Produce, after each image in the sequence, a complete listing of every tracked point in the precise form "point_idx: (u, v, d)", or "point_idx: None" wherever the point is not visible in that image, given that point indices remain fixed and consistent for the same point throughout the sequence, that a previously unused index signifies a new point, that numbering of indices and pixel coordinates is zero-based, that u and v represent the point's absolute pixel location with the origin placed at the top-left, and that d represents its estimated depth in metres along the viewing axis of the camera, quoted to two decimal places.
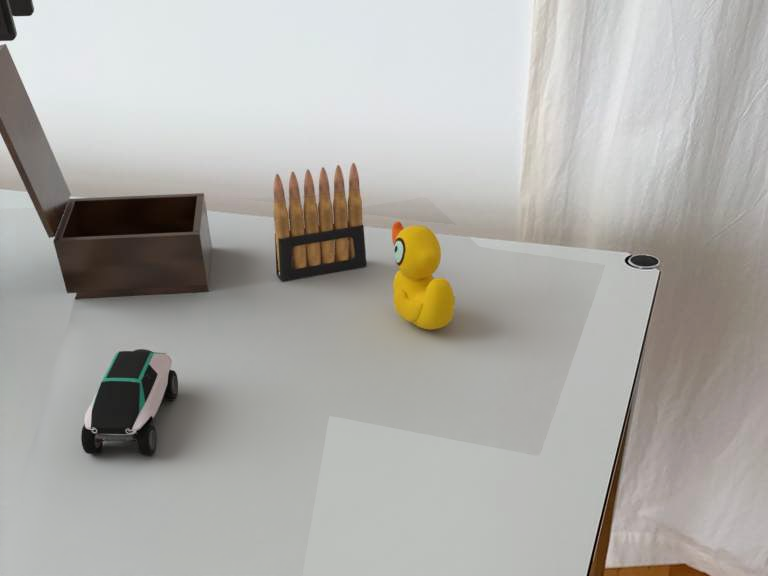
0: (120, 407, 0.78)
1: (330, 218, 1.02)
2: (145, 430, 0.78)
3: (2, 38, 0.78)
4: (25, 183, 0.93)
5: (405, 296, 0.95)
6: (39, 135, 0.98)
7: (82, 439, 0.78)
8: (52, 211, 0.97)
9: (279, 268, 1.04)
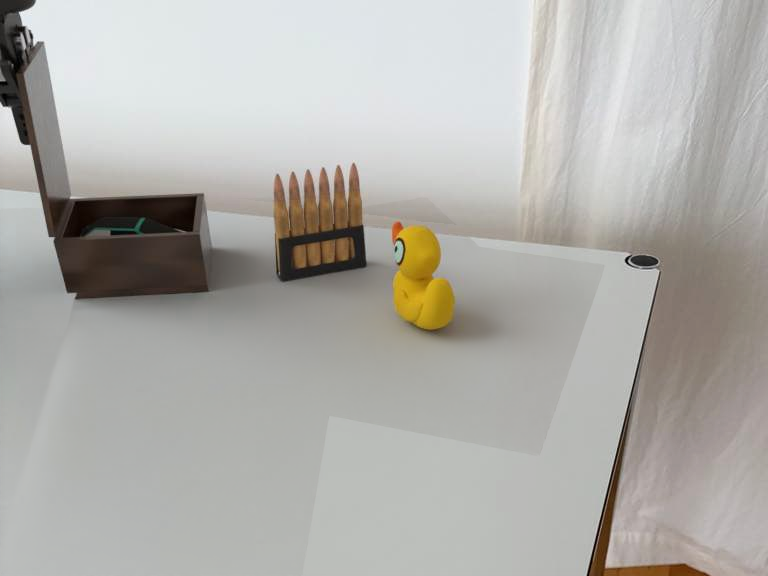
0: (166, 231, 1.03)
1: (330, 218, 1.02)
2: None
3: None
4: (39, 181, 0.93)
5: (405, 296, 0.95)
6: (56, 134, 0.98)
7: None
8: (56, 211, 0.97)
9: (279, 268, 1.04)
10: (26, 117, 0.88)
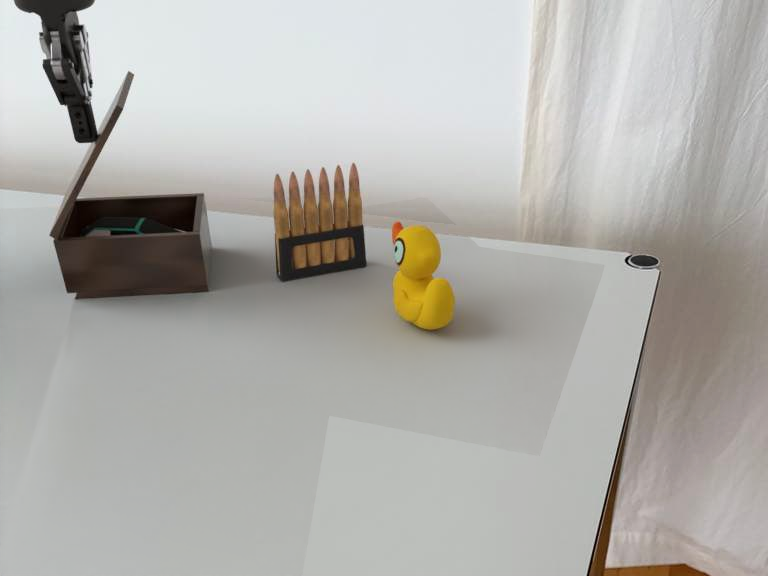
0: (166, 231, 1.03)
1: (330, 218, 1.02)
2: None
3: (85, 141, 0.95)
4: (74, 191, 0.94)
5: (405, 296, 0.95)
6: None
7: None
8: None
9: (279, 268, 1.04)
10: (100, 139, 0.91)
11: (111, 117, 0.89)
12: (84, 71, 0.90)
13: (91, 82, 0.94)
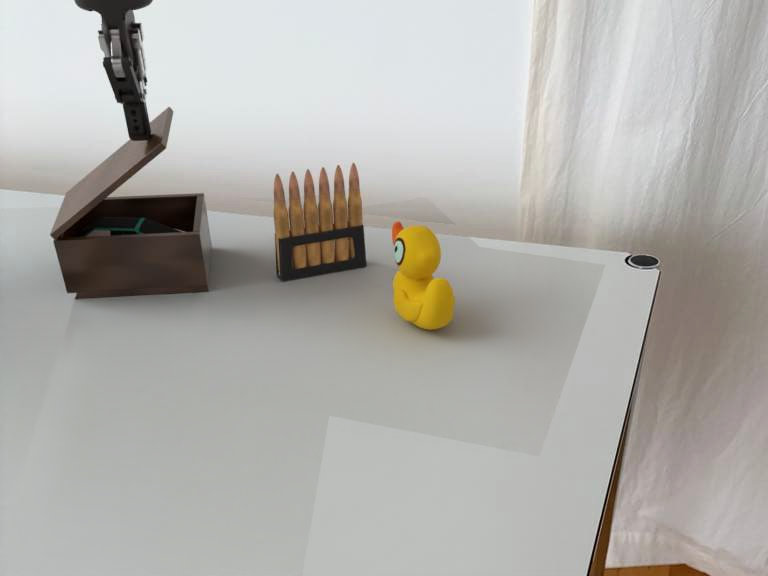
0: (166, 231, 1.03)
1: (330, 218, 1.02)
2: None
3: (139, 138, 0.96)
4: (90, 203, 0.95)
5: (405, 296, 0.95)
6: None
7: None
8: None
9: (279, 268, 1.04)
10: (134, 167, 0.93)
11: (152, 151, 0.92)
12: (141, 69, 0.90)
13: (145, 80, 0.95)
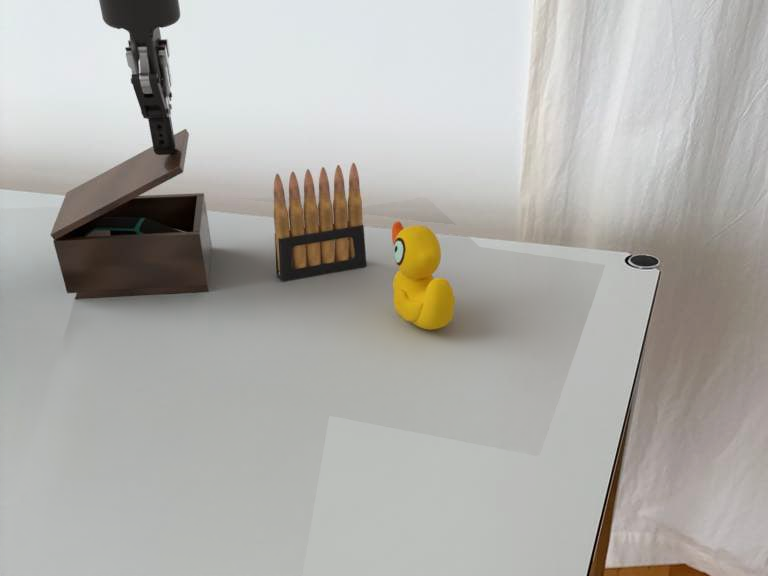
0: (166, 231, 1.03)
1: (330, 218, 1.02)
2: None
3: (164, 152, 0.97)
4: (97, 211, 0.95)
5: (405, 296, 0.95)
6: None
7: None
8: None
9: (279, 268, 1.04)
10: (148, 184, 0.94)
11: (168, 173, 0.94)
12: (167, 85, 0.92)
13: (170, 95, 0.96)
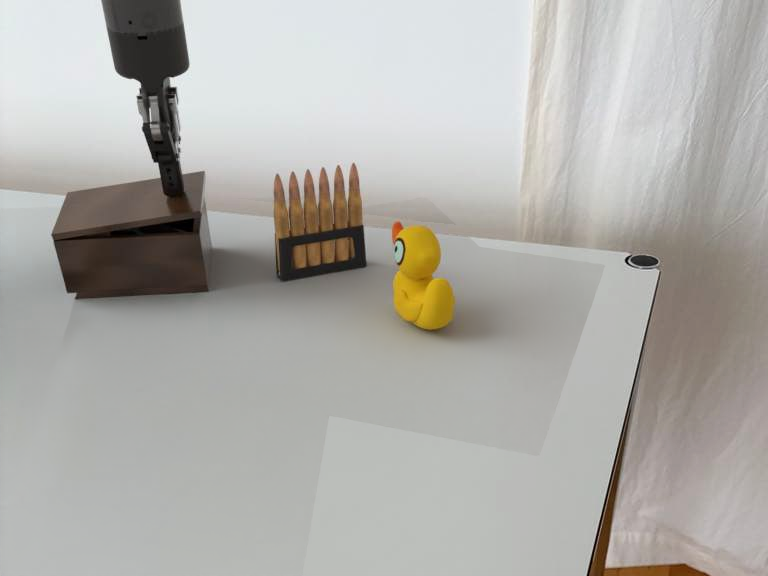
0: (166, 231, 1.03)
1: (330, 218, 1.02)
2: None
3: (173, 194, 1.00)
4: (106, 227, 0.97)
5: (405, 296, 0.95)
6: None
7: None
8: None
9: (279, 268, 1.04)
10: (164, 218, 0.97)
11: (188, 213, 0.97)
12: (177, 131, 0.95)
13: (179, 139, 0.99)
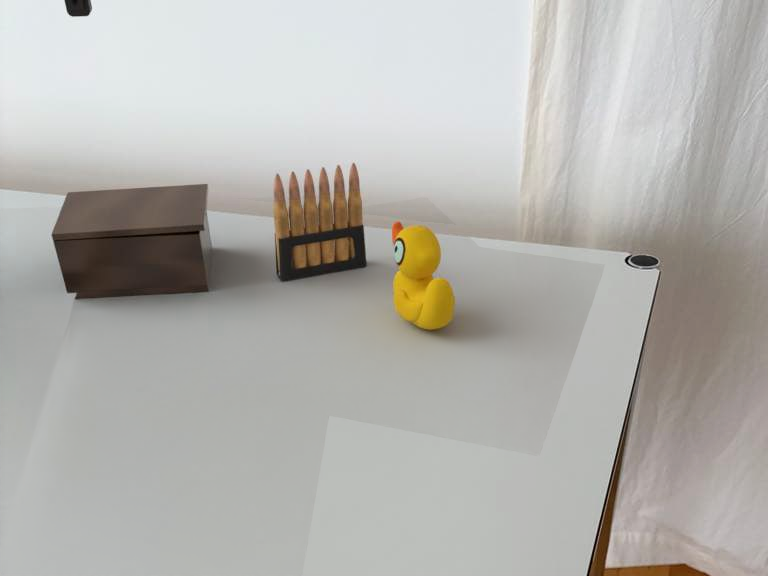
0: None
1: (330, 218, 1.02)
2: None
3: (78, 14, 0.87)
4: (108, 232, 0.97)
5: (405, 296, 0.95)
6: None
7: None
8: None
9: (279, 268, 1.04)
10: (167, 228, 0.97)
11: (191, 226, 0.98)
12: None
13: None
